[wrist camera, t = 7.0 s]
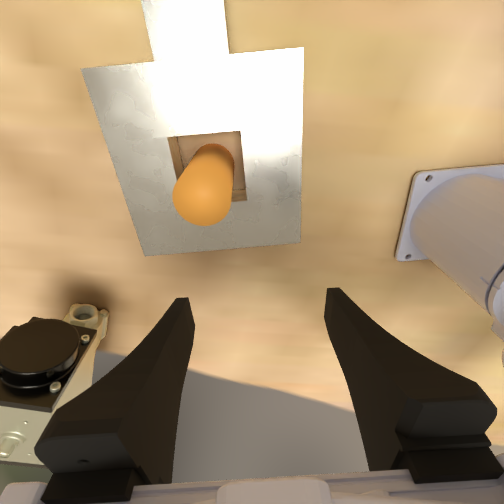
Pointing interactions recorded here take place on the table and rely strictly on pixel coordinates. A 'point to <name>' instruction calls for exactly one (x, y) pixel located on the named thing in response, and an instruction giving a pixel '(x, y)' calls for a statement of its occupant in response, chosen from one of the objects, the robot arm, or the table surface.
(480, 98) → the table surface
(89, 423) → the robot arm
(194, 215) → the orange cylinder
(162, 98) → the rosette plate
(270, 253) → the table surface
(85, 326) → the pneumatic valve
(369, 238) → the table surface
